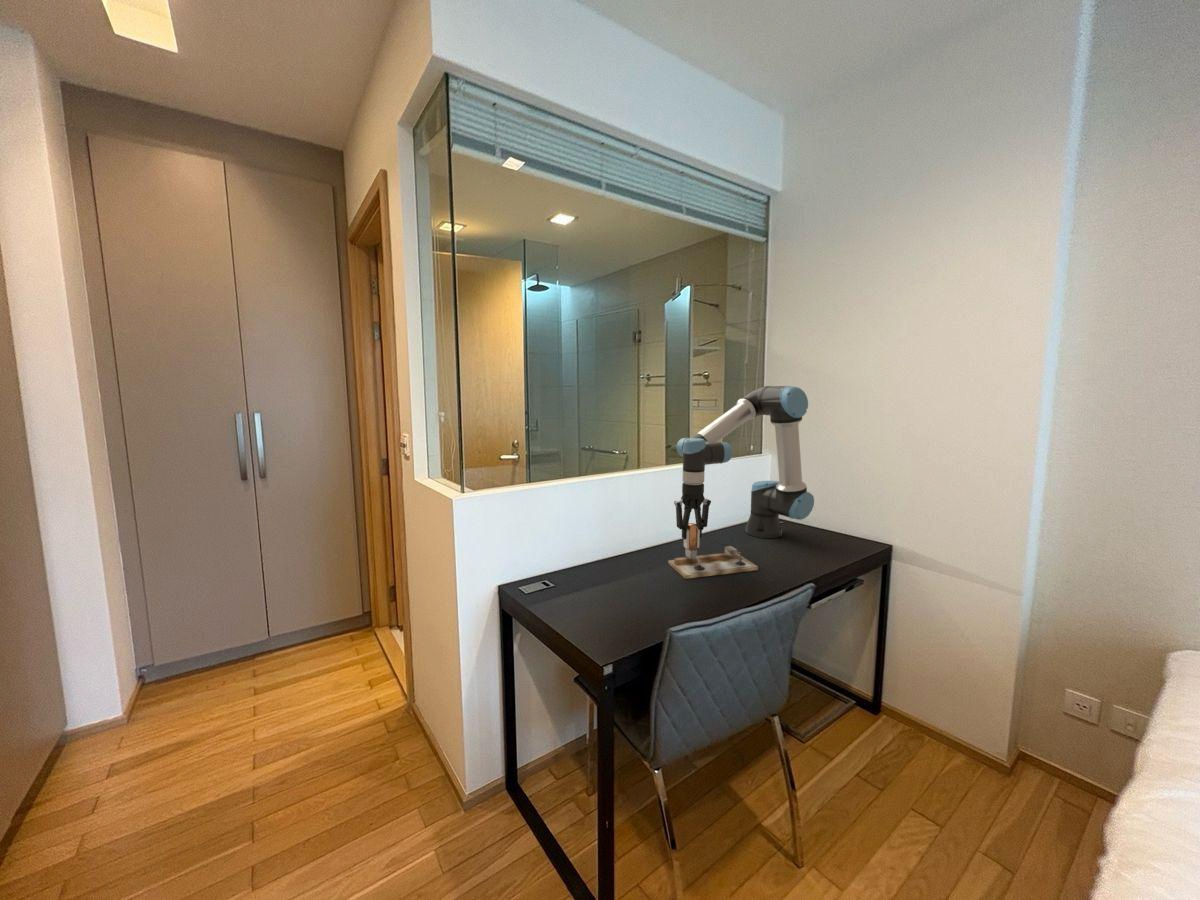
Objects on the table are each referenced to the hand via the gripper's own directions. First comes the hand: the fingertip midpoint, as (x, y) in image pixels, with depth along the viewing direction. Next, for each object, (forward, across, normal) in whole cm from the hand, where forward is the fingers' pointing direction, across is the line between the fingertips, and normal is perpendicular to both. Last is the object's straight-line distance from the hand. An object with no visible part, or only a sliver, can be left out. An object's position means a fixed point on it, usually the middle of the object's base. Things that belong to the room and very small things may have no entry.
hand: (691, 546), depth 170 cm
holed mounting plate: (+7, -7, +3) cm, 10 cm away
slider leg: (+5, 0, +3) cm, 6 cm away
